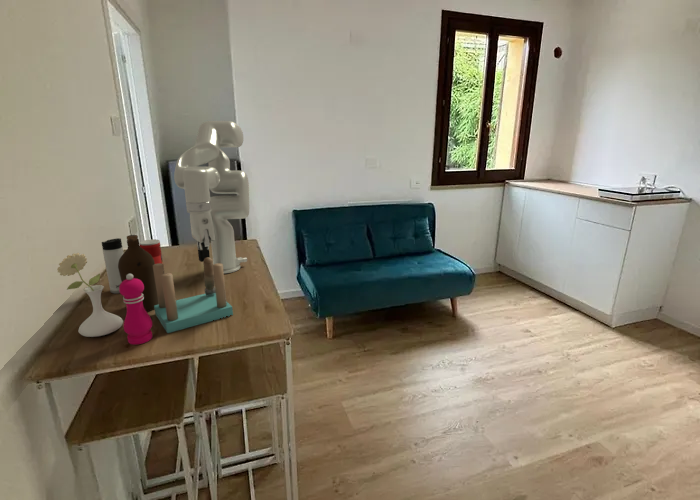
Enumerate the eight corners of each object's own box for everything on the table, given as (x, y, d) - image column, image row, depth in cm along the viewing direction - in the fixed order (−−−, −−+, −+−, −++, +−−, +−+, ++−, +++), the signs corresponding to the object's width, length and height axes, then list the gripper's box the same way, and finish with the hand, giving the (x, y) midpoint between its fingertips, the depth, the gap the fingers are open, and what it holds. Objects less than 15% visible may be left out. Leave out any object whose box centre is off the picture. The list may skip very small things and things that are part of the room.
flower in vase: (117, 318, 125) (103, 243, 117) (129, 331, 117) (114, 251, 110) (68, 332, 116) (50, 252, 109) (77, 347, 108) (58, 261, 101)
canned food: (166, 264, 175) (163, 240, 172) (149, 269, 169) (145, 245, 166) (156, 261, 179) (153, 238, 176) (139, 266, 173) (135, 242, 170)
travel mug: (122, 294, 143) (112, 241, 137) (106, 293, 144) (96, 240, 138) (134, 288, 149) (125, 237, 143) (119, 286, 150) (110, 236, 144)
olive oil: (167, 303, 136) (157, 233, 128) (142, 316, 126) (129, 241, 119) (145, 298, 139) (134, 230, 132) (118, 311, 130) (104, 238, 123)
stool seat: (216, 298, 139) (211, 253, 134) (233, 315, 127) (228, 265, 122) (155, 313, 128) (147, 264, 123) (167, 333, 116) (159, 279, 111)
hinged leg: (213, 291, 137) (210, 255, 132) (216, 294, 135) (213, 258, 130) (204, 293, 135) (201, 256, 130) (207, 296, 133) (204, 260, 128)
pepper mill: (133, 333, 116) (121, 269, 110) (158, 332, 116) (148, 269, 110) (121, 346, 109) (108, 278, 103) (148, 345, 109) (137, 278, 103)
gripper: (218, 208, 125) (223, 263, 130) (203, 203, 136) (208, 253, 141) (194, 211, 120) (200, 268, 125) (180, 205, 132) (186, 257, 137)
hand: (204, 260), depth 133 cm, fingers closed
